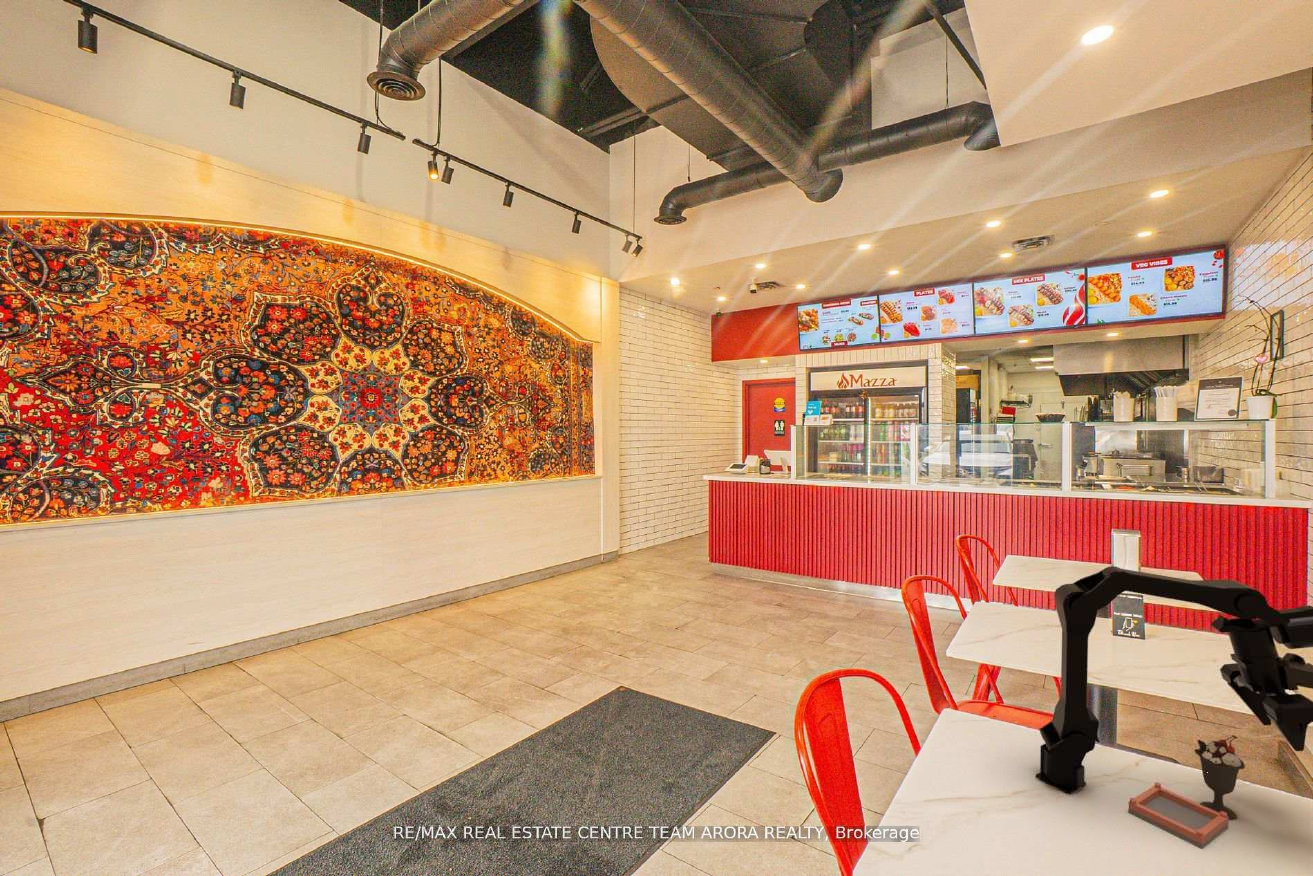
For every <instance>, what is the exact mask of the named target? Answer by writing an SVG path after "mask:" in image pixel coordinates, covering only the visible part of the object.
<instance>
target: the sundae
mask: <svg viewBox="0 0 1313 876" xmlns="http://www.w3.org/2000/svg"><path fill="white" fill-rule="evenodd" d="M1231 738H1232V739H1231ZM1229 739H1230V740H1229ZM1235 739H1238V736H1236V735H1233V734H1232V735H1231V736H1230V737H1229V738H1226V739H1219V740H1213V741H1209V742H1207V743H1206V742H1205V741H1203V740H1200V739H1197V744H1198V747H1199V748H1196V749H1194V753H1195V754H1196V755H1197V756H1198V757H1199V760H1200V763H1201V771H1202V777H1203V781H1204V783H1205V784H1206V785H1207V787H1208V789H1210V790H1212V791H1213V793H1214V794H1213V797H1214V798H1213V800H1212V801H1202V802H1200V803H1199V804H1200V805H1203V806H1205V807H1207V808H1209V809H1212V810H1214V811H1216V812H1219V813H1220V811H1223V812H1226V813H1227V816H1228V821H1230V820H1236V819H1237V818H1238V815H1237V813H1236V812H1235V811H1233V810H1232V809H1231V808H1229V807H1228V806H1225V805H1224V796H1225V795H1228V794H1231V793H1233V792H1234V790H1235V787H1236V784H1237V779H1238V774H1239V771H1240V770H1244V769H1245V768H1246V765H1245V763H1244V761H1243V760H1242V759H1241V758H1240V757H1239V756H1238V755H1237V754H1236V749H1235V748H1234V747H1233V746H1232V741H1233V740H1235ZM1228 740H1229V745H1228V742H1227V741H1228ZM1207 772H1208V773H1207Z"/></svg>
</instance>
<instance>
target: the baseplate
mask: <svg viewBox="0 0 1313 876" xmlns="http://www.w3.org/2000/svg"><path fill="white" fill-rule="evenodd" d="M1200 804H1201V803H1198V802H1196V801H1194V800H1191V799H1189V798H1187V797H1184V796H1183V795H1180V794H1177V793H1175V792H1173V791H1170V790H1168V789H1167V788H1164V787H1162V784H1161V783H1160V782H1156V781H1155V782H1154V785H1153V786H1151V787H1150V788H1147V790H1145V791H1143V792H1142V793H1140V794H1139V795H1137V796H1135V797H1130V798H1129V801H1128V813H1129V814H1131V815H1133V816H1135V817H1137V818H1139V819H1141V820H1143V821H1145V822H1146V823H1149V824H1151V825H1154V826H1155V827H1157V828H1159V829H1160V830H1164V831H1165V832H1167V833H1170V834H1171V835H1173V836H1175V837H1178V838H1180V839H1182V840H1184V841H1186V842H1188V843H1190V844H1192V845H1194V846H1195V847H1198V848H1200V849H1203V848H1204V849H1205V847H1206V846H1207V845H1208V844H1210V843H1211V842H1212V841H1213V840H1215V839H1216V838H1218V836H1220V835H1221V834H1222V833H1224V832H1225V831H1226V830H1228V828H1229V820H1228V816H1227V813H1226V812H1223V811H1220V813H1219V812H1216V811H1214V810H1212V809H1209V808H1207V807H1205V806H1203V805H1200Z"/></svg>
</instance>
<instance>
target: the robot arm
mask: <svg viewBox="0 0 1313 876" xmlns="http://www.w3.org/2000/svg"><path fill="white" fill-rule="evenodd" d="M1124 592H1130V593H1135V594H1141V595H1147V596H1153V597H1158V598H1164V599H1171V600H1175V601H1181V602H1187V603H1191V604H1192V603H1193V604H1197V605H1201V606H1204V607H1206V608H1210V609H1212V610H1215V611H1217V612H1220V613H1223V614H1225V615H1230V616H1231V618H1227V617H1225V616H1223V615H1221V614H1219V615H1218V616H1217V618H1216V619H1214V620H1213V621H1212V622H1211V623H1210V627H1212V628H1213V629H1215V630H1216V631H1218V632H1219V633H1222V634H1223V633H1224V634H1225V633H1227V634H1228V636H1229V640H1230V643H1231V646H1232V649H1233V653H1230V658H1231V660H1233V662H1234V663H1225V664H1223V665H1222V666H1221V668H1220V669H1219V671H1220V673H1221V677H1222V680H1224V681H1225V682H1226V683H1227V685H1228V686H1229V687H1230V688H1231V689H1232V691H1233V692H1234V693H1235V694H1236V695H1237V696H1238V697H1239V698H1240V700H1241V701H1242V702H1243V704H1245V705H1246V707H1248V708H1247V709H1249V710H1250V711H1251V712H1252V714H1253V715H1255V717H1256V718H1257V719H1258V721H1260V723H1261V724H1262V725H1263V726H1271V725H1272V723H1273V725H1274V726H1275V728H1277V730H1278V731H1279V733H1280V734H1281V735H1282V736H1283V738H1284V739H1285V740H1286V742H1287V743H1288V744H1289V745H1290V746H1291V748H1292V749H1293V750H1294V751H1295V752H1303V751H1304V750H1305V744H1306V738H1307V737H1306V735H1307V730H1308V726H1309V725H1310V724H1311V723H1313V700H1312V699H1310V698H1309V697H1307V696H1305V695H1303V694H1302V693H1291V694H1289V693H1288V692H1287V691H1299V687H1302V688H1306V689H1307V688H1308V689H1312V690H1313V664H1312V663H1309V662H1307V663H1306V660H1305V658H1304V657H1302V656H1301V655H1299V654H1297V653H1293V652H1292V653H1291V652H1286V653H1285V654H1284V655H1283V657H1281V656H1279V652H1278V649H1277V647H1276V643H1277V644H1279V645H1284V646H1285V648H1287V649H1290V650H1296V649H1306V648H1313V606H1311V605H1302V606H1298V607H1295V608H1294V607H1293V608H1286V609H1278V610H1277V609H1276V608H1274V607H1272V606H1271V605H1269V604H1268V600H1267V599H1266V596H1264V594H1262V592H1261V591H1259V590H1257V589H1254V588H1253V587H1251V586H1249V585H1247V584H1244V583H1242V582H1240V581H1238V580H1235V579H1217V578H1216V579H1211V578H1210V579H1203V580H1201V579H1199V580H1197V579H1196V580H1191V579H1186V578H1180V577H1173V576H1168V575H1162V574H1156V573H1149V572H1143V571H1137V570H1131V569H1125V568H1124V569H1123V568H1121V567H1118V566H1115V565H1114V566H1112V565H1111V566H1107V567H1105V568H1104V569H1102V570H1100V571H1098V572H1095V573H1092V574H1090V575H1088V576H1085V577H1081V578H1080V579H1078V580H1075V581H1074V582H1073V583H1065V584H1062V585H1060V586H1058V587H1057V588H1056V589H1055V591H1054V595H1053V597H1054V603H1055V608H1056V611H1057V612H1056V613H1057V616H1058V619H1059V623H1060V627H1061V665H1060V666H1061V670H1060V671H1061V672H1060V675H1061V676H1060V696H1059V699H1058V701H1057V703H1056V705H1055V707H1054V711H1053V715H1052V720H1051V721H1049V722H1048V723H1046V724H1045V725H1043V726H1042V727H1040V728H1039V729H1038V730H1039V733H1040V735H1041V738H1042V740H1043V741H1044V743H1043V744H1041V745H1040V751H1039V752H1040V757H1039V759H1040V760H1039V762H1040V763H1039V764H1040V765H1039V772H1038V773H1036V774H1035V778H1036V779H1038V780H1040V781H1042V782H1044V783H1045V784H1047V785H1049V786H1052V787H1053V788H1056V789H1057V790H1060V791H1061V792H1063V793H1066V794H1068V795H1071V794H1073V793H1075V792H1077V791H1078V790H1080V789H1081V788H1083V787H1085V786H1087V782H1086V781H1085V768H1086V767H1085V765H1084V764H1083V761H1084V759H1085V757H1086V755H1087V754H1088V753H1090V752H1091V751H1094V749H1095V747H1096V742H1097V743H1100V742H1101V741H1100V739H1099V737H1098V736H1099V735H1098V733H1099V727H1100V721H1099V719H1098V718H1097V716H1096V714H1094V712H1093V711H1092V709H1091V708H1090V707H1088V670H1089V669H1088V660H1089V658H1088V657H1089V656H1088V655H1089V637H1090V634H1091V632H1092V630H1093V628H1094V626H1095V623H1096V619H1097V617H1098V612H1099V610H1102V609H1104V608H1105V607H1107V606H1108V605H1110V603H1111V602H1113V601H1114V600H1115V599H1116V598H1117V597H1118V596H1119V595H1120V594H1123V593H1124ZM1232 616H1233V617H1232Z"/></svg>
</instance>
